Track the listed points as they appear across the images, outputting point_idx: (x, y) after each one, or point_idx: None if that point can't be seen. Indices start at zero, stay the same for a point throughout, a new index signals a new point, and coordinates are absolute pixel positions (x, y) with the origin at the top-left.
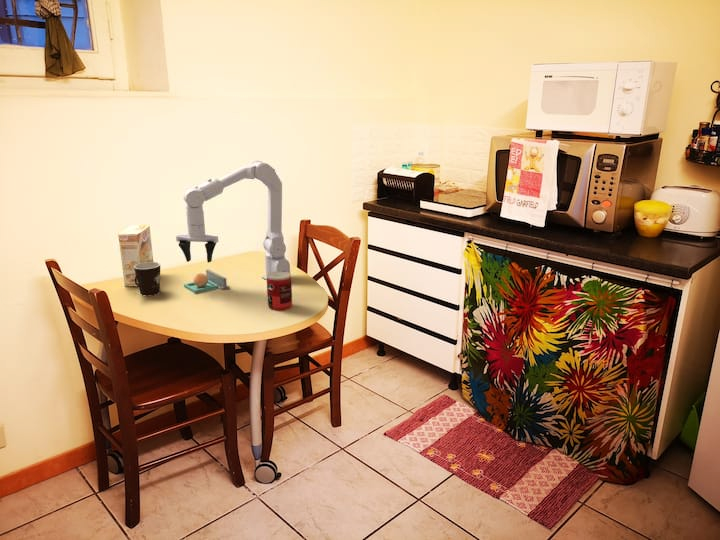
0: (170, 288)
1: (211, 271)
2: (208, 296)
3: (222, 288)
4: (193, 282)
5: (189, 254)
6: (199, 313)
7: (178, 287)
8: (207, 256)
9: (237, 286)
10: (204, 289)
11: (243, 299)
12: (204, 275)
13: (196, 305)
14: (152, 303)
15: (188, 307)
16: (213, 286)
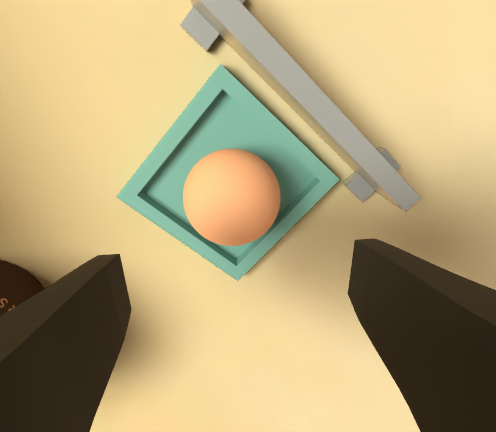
0: (55, 223)
1: (263, 42)
2: (316, 290)
3: (365, 197)
4: (159, 152)
5: (90, 321)
6: (335, 424)
7: (90, 199)
8: (389, 360)
9: (437, 124)
10: (275, 240)
11: None
12: (267, 212)
13: (300, 377)
14: (113, 394)
15: (277, 396)
16: (316, 202)
